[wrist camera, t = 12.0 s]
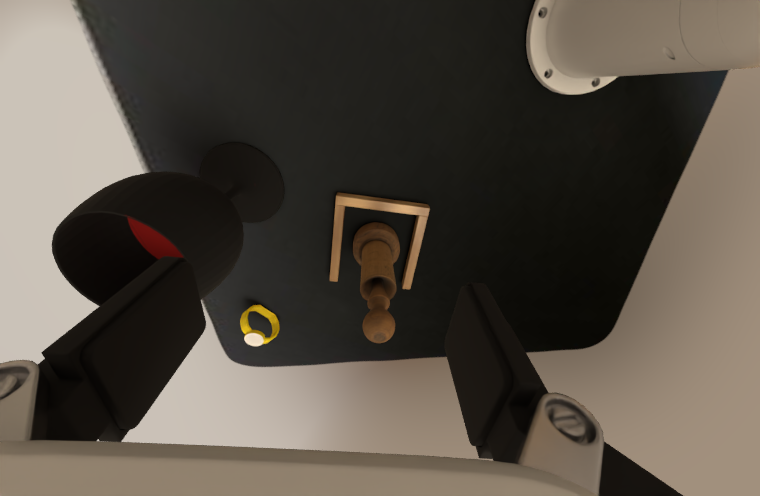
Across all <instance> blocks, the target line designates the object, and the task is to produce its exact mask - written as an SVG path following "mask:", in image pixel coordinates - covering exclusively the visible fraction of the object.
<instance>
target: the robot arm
mask: <svg viewBox="0 0 760 496" xmlns="http://www.w3.org/2000/svg"><path fill="white" fill-rule="evenodd" d="M539 12H540V13H541V14H540V17H539V15H538V13H539ZM526 49H527V57H528V61H529V64H530V67H531V70H532V72H533V73H534V75H535V77H536V79H537V80H538V81H539V82H540V83H541V84H542V85H543V86H544V87H546V88H548V89H549V90H551V91H553V92H556V93H560V94H568V95H575V94H584V93H588V92H592V91H594V90H597V89H599V88H601V87H603V86H605V85H607V84H608V83H610V82H611V81H613V80H614V79H616V78H617V77H618V76H631V75H648V74H665V73H682V72H699V71H716V70H730V69H743V68H755V67H760V0H536V1H535V3H534V6H533V9H532V12H531V15H530V18H529V23H528V28H527V37H526ZM545 72H546V75H545V76H544V74H545ZM205 326H206V321H205V316H204V312H203V308H202V304H201V300H200V296H199V291H198V287H197V283H196V279H195V275H194V271H193V267H192V264H191V263H189V262H187V260H186V259H185V258H182V257H170V256H164V257H162V258H160V259H159V260H158V261H157V262H155V263H154V264H153V265H151V266H150V267H149V268H148V269H146V270H145V271H144V272H143V273H141V274H140V275H139V276H138V277H136V278H135V279H134V280H132V281H131V282H130V283H129V284H127V285H126V286H125V287H124V288H122V289H121V290H120V291H119V292H117V293H116V294H115V295H114V296H112V297H111V298H110V299H108V300H107V301H106V302H105V303H103V304H102V305H101V306H100V307H99V308H97V309H96V310H95V311H93V312H92V313H91V314H89V315H88V316H87V317H86V318H84V319H83V320H82V321H81V322H80V323H78V324H77V325H76V326H74V327H73V328H72V329H71V330H69V331H68V332H67V333H66V334H64V335H63V336H62V337H60V338H59V339H58V340H57V341H56V342H54V343H53V344H52V345H50V346H49V347H48V348H47V349H45V350H44V351H43V352H42V354H43V356H44V357H45V359H44V360H43V361H42V362H40V363H39V364H38V365H37V364H36V363H35V362H33V361H28V360H16V361H9V362H5V363H1V364H0V496H683V495H681V494H680V493H678V492H677V491H676V490H674V489H673V488H671V487H670V486H668V485H667V484H665V483H664V482H662V481H661V480H659V479H658V478H656V477H655V476H654V475H652V474H651V473H649V472H648V471H646V470H645V469H643V468H642V467H640V466H639V465H638V464H636V463H635V462H633V461H632V460H630V459H629V458H627V457H626V456H625V455H623V454H621V453H620V452H619V451H617V450H616V449H614V448H613V447H611V446H610V445H609V444H607V443H606V442H604V437H603V431H602V429H601V427H600V425H599V423H598V421H597V420H596V419H595V417H594V416H593V414H591V412H590V411H588V410H587V409H586V408H585V407H584V406H583V405H581V404H580V403H579V402H577V401H576V400H574V399H572V398H570V397H568V396H566V395H563V394H559V393H548V391H547V389H546V388H545V386H544V384H543V382H542V381H541V379H540V377H539V375H538V373H537V372H536V370H535V368H534V367H533V365H532V363H531V361H530V359H529V358H528V356H527V354H526V352H525V350H524V349H523V347H522V345H521V343H520V342H519V340H518V338H517V336H516V335H515V333H514V331H513V329H512V328H511V326H510V325H509V324H508V323H507V322H506V320H505V318H504V316H503V314H502V313H501V311H500V309H499V307H498V305H497V304H496V302H495V300H494V298H493V297H492V295H491V293H490V291H489V289H488V288H487V286H486V285H485V284H482V283H471V282H469V283H467V285H466V286H462V287H461V290H460V293H459V296H458V299H457V302H456V306H455V309H454V312H453V315H452V319H451V322H450V325H449V328H448V331H447V335H446V338H445V351H446V355H447V359H448V362H449V366H450V370H451V374H452V377H453V381H454V385H455V389H456V392H457V396H458V400H459V404H460V407H461V411H462V415H463V419H464V423H465V426H466V430H467V434H468V437H469V441H470V443H471V445H473V446H476V449H477V452H478V456H479V458H487V459H493V461H489V460H478V459H463V458H450V457H435V456H418V455H400V454H397V455H396V454H380V453H360V452H339V451H319V450H318V451H317V450H297V449H274V448H253V447H252V448H251V447H230V446H207V445H182V444H157V443H131V442H121V441H122V439H123V438H124V437H125V435H126V434H127V432H128V431H129V430H130V429H133V428H135V427H136V426H137V425H138V424H139V423H140V421H141V420H142V418H143V417H144V416H145V414H146V413H147V411H148V410H149V409H150V407H151V406H152V404H153V403H154V401H155V400H156V399H157V397H158V396H159V394H160V393H161V392H162V390H163V389H164V387H165V386H166V384H167V383H168V382H169V380H170V379H171V377H172V376H173V375H174V373H175V372H176V370H177V369H178V367H179V366H180V365H181V363H182V362H183V360H184V359H185V358H186V356H187V355H188V353H189V352H190V350H191V349H192V347H193V346H194V345H195V343H196V342H197V341H198V339H199V338H200V336H201V335H202V333H203V332H204V330H205ZM97 439H99V441H97ZM101 441H109V442H101Z"/></svg>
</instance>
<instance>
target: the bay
mask: <svg viewBox="0 0 760 496" xmlns="http://www.w3.org/2000/svg"><path fill="white" fill-rule="evenodd" d="M335 204H336V205H335V216H334V229H333V241H332V254H331V267H330V281H336V282H337V281H338V276H339V266H340V255H341V245H342V234H343V224H344V213H345V206H350V207H358V208H366V209H373V210H381V211H389V212H396V213H404V214H412V215H417V217H416V221H415V226H414V230H413V234H412V239H411V243H410V248H409V252H408V257H407V261H406V266H405V270H404V274H403V279H402V288H403V289H410V288H411V283H412V279H413V275H414V271H415V267H416V263H417V259H418V255H419V251H420V247H421V243H422V239H423V235H424V230H425V226H426V222H427V218H428V214H429V210H430V208H429V206H428V204H421V203H413V202H406V201H399V200H391V199H384V198H376V197H369V196H361V195H354V194H347V193H339V192H337V195H336V203H335Z"/></svg>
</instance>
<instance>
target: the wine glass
mask: <svg viewBox="0 0 760 496" xmlns="http://www.w3.org/2000/svg"><path fill="white" fill-rule="evenodd" d="M283 198H284V183H283V179H282V176H281V174H280V172H279V170H278V168H277V167H276V165H275V164H274V162H273V161H272V160H271V159H270V158H269V157H268V156H266V155H265V154H264V153H263V152H261V151H260V150H258V149H256V148H254V147H252V146H249V145H246V144H242V143H226V144H222V145H219V146H217V147H215V148H214V149H212V150H210V152H209V153H208V154H207V155H206V156H205V158H204V159H203V161H202V164H201V168H200V178H198V177H195V176H191V175H187V174H183V173H176V172H151V173H145V174H140V175H135V176H131V177H128V178H125V179H123V180H120V181H118V182H116V183H113V184H111V185H109V186H107V187H105V188H103V189H102V190H100V191H98V192H97V193H95V194H94V195H93V196H91V197H90V198H88V199H87V200H86V201H84V202H83V203H82V204H80V205H79V206H78V207H77V208H76V209H74V210H73V211H72V212H71V213H70V214H69V215H68V216H67V217H66V218H65V219H64V220H63V221H62V222H61V224H60V225H59V226H58V227H57V228H56V231H55V233H54V235H53V240H52V252H53V256H54V259H55V261H56V263H57V265H58V268H59V269H60V271H61V273H62V274H63V275H64V277H65V278H66V279H67V280H68V281H69V283H70V284H71V285H72V286H73V287H74V288H75V289H76V290H77V291H78V292H79V293H81V294H82V295H83V296H85V297H86V298H87V299H89V300H90V301H92V302H93V303H95V304H97V305H99V306H101V305H102V304H103V303H105V302H106V301H107V300H108V299H110V298H111V297H112V296H114V295H115V294H116V293H117V292H119V291H120V290H121V289H122V288H124V287H125V286H126V285H127V284H129V283H130V282H131V281H132V280H134V279H135V278H136V277H138V276H139V275H140V274H141V273H143V272H144V271H145V270H146V269H148V268H149V267H150V266H151V265H153V264H154V263H155V262H157V261H158V260H159V259H160V258H162V257H164V256H170V257H182V258H185V259H186V260H187V262H189V263H191V264H192V267H193V271H194V275H195V279H196V283H197V287H198V291H199V296H200V300H201V299H202V298H204V297H205V296H207V295H208V294H209V293H210V292H212V291H213V290H214V289H215V288H216V287H217V286H219V285H220V284H221V283H222V281H223V280H224V279H225V278H226V277H227V276H228V275H229V273H230V272H231V271H232V269H233V268H234V266H235V264H236V262H237V260H238V258H239V256H240V253H241V250H242V246H243V236H244V233H243V225H242V222H247V223H255V222H261V221H264V220H266V219H268V218H270V217H271V216H273V215H274V214H275V213H276V212H277V210H278V209H279V208H280V206H281V204H282V201H283Z"/></svg>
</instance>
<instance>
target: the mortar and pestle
mask: <svg viewBox="0 0 760 496" xmlns="http://www.w3.org/2000/svg"><path fill="white" fill-rule="evenodd" d="M399 253H400V246H399V240H398V237H397V234H396V233H395V231H394V230H393V229H392V228H391V227H390V226H388V225H386V224H384V223H379V222H373V223H368V224H366V225H364V226H362V227H361V228H360V229H359V230H358V231H357V232H356V234H355V236H354V240H353V254H354V257H355V259H356V261H357V262H358V263H359V264H360V265H361V266H362V268H361V284H360V292H361V295H362V296H363V298H364V299H366V300H367V301H368V307H369V309H370V310H371V311H370V312H369V313H368V314H367V315H366V316H365V318H364V321H363V331H364V334H365V336H366V337H367V338H368V339H369V340H370V341H372V342H375V343H383V342H386V341H388V340H389V339H390V338H391V337H392V335H393V333H394V330H395V322H394V319H393V317H392V315H391V314H390V313H389V312H388V311H387V309H388V307H389V305H390V302H389V300H390V299H391V298H392V297H393V296H394V295H395V292H396V283H395V277H394V270H393V264H394V263H395V262H396V260H397V259H398V256H399Z"/></svg>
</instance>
